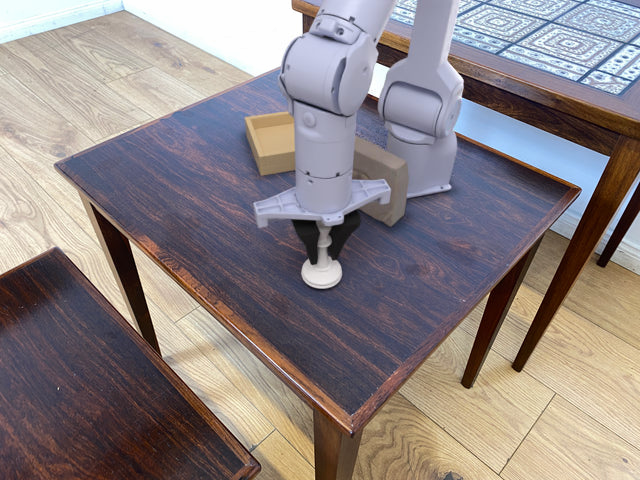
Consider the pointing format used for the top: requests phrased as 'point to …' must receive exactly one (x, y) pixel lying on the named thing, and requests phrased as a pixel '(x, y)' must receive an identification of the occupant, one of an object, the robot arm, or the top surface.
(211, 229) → the top surface
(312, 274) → the chess piece
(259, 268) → the top surface
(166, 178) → the top surface
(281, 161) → the wooden tray
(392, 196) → the fossil
